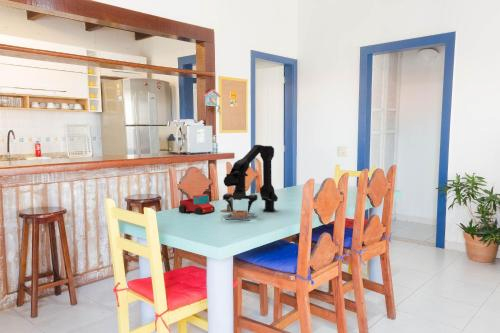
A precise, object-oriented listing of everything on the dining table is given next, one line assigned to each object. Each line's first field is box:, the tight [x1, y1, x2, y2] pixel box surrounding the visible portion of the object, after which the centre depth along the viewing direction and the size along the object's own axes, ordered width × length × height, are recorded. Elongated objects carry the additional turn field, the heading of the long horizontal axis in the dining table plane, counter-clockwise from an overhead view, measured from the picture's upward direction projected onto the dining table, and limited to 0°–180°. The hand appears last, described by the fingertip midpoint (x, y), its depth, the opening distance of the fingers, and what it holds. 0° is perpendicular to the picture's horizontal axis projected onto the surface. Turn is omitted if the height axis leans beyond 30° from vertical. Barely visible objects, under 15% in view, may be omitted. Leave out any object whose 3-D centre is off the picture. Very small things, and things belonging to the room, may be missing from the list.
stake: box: [220, 203, 236, 214], centre depth 232 cm, size 10×10×5 cm
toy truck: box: [178, 193, 215, 216], centre depth 232 cm, size 12×20×11 cm, turn 50°
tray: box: [225, 212, 255, 222], centre depth 219 cm, size 14×14×2 cm
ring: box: [232, 209, 248, 218], centre depth 218 cm, size 8×7×3 cm
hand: (240, 212), depth 219 cm, fingers open, 9 cm apart
